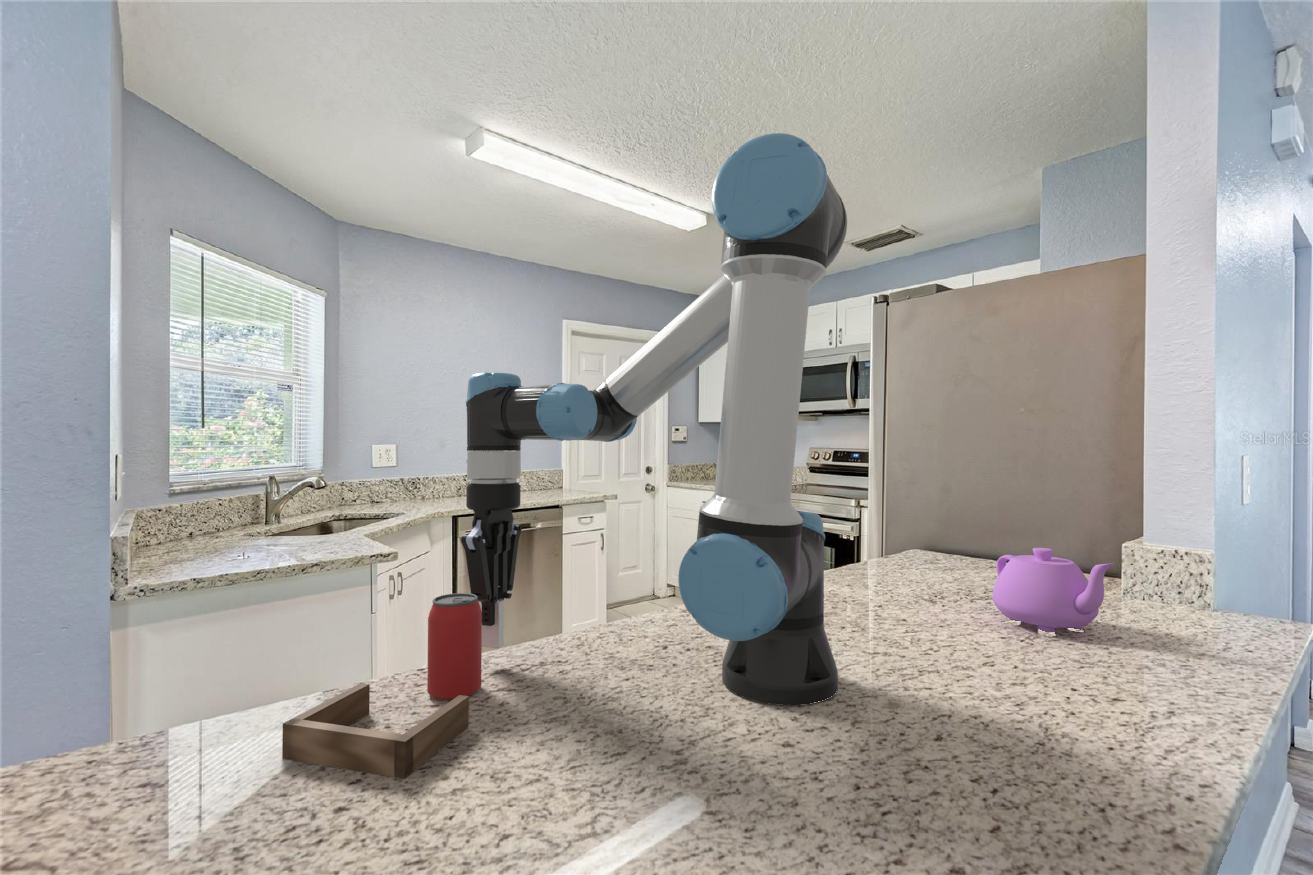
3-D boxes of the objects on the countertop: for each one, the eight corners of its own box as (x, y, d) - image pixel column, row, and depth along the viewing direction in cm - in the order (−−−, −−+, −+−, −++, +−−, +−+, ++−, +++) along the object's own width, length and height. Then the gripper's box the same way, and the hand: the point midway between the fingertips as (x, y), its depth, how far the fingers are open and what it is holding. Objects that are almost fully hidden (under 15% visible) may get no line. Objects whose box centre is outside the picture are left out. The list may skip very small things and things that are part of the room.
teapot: (1148, 643, 97) (1147, 558, 97) (1077, 653, 92) (1076, 563, 92) (1026, 608, 118) (1025, 538, 118) (963, 615, 113) (962, 541, 113)
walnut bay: (468, 727, 67) (468, 696, 67) (404, 779, 57) (405, 741, 57) (360, 712, 71) (361, 682, 71) (282, 758, 61) (282, 723, 61)
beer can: (465, 705, 73) (465, 606, 73) (416, 700, 74) (417, 603, 75) (490, 684, 80) (491, 593, 80) (445, 680, 81) (446, 590, 81)
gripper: (494, 478, 94) (493, 630, 93) (443, 483, 81) (442, 659, 81) (538, 479, 92) (537, 634, 91) (493, 484, 79) (492, 664, 79)
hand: (492, 645), depth 86 cm, fingers closed
